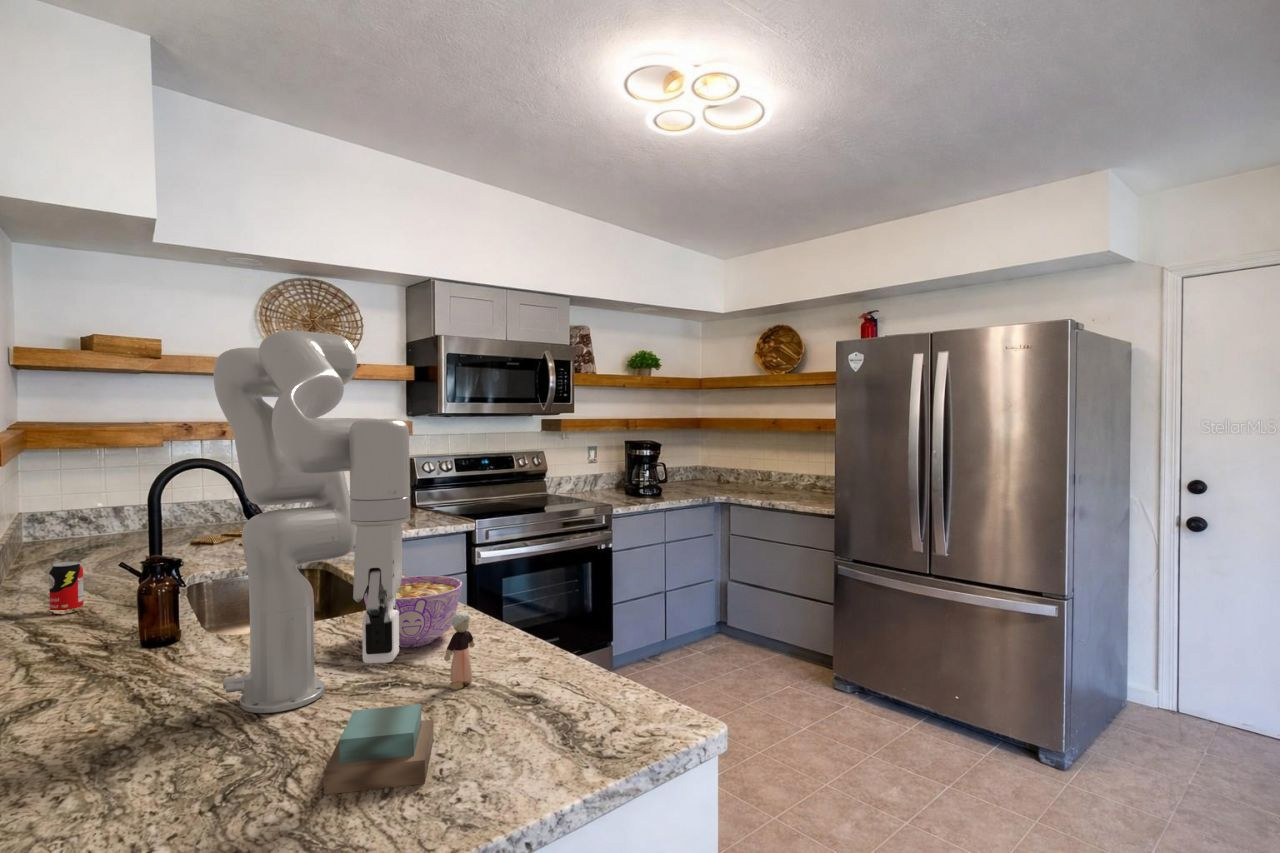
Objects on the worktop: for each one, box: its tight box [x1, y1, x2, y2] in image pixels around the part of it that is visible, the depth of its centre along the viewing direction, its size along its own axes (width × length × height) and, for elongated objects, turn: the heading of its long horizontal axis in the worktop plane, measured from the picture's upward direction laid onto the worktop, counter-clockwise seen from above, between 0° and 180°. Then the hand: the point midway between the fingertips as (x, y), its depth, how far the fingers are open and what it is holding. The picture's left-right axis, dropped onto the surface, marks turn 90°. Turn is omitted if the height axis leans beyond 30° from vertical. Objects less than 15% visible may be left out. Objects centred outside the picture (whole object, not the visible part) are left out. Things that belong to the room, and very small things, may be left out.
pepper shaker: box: [361, 590, 400, 664], centre depth 91 cm, size 4×4×10 cm
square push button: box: [323, 703, 434, 795], centre depth 91 cm, size 12×12×6 cm
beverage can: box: [48, 560, 84, 611], centre depth 166 cm, size 6×6×12 cm
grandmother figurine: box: [443, 611, 476, 690], centre depth 119 cm, size 8×4×13 cm, turn 168°
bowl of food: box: [363, 575, 463, 648], centre depth 143 cm, size 20×20×12 cm
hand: (382, 645), depth 91 cm, fingers closed on pepper shaker, 4 cm apart
